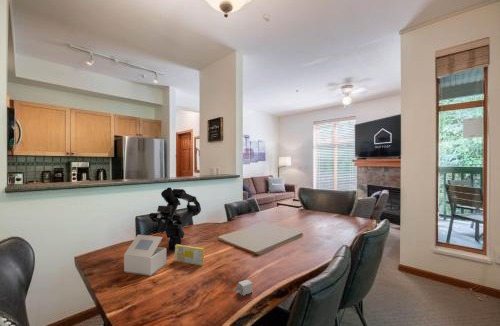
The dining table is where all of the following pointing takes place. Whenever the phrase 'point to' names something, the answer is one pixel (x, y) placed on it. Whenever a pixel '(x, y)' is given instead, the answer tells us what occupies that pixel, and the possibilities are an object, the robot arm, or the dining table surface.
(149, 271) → the carton
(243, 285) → the usb wall charger
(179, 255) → the candy box
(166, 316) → the dining table surface
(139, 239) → the carton flap
